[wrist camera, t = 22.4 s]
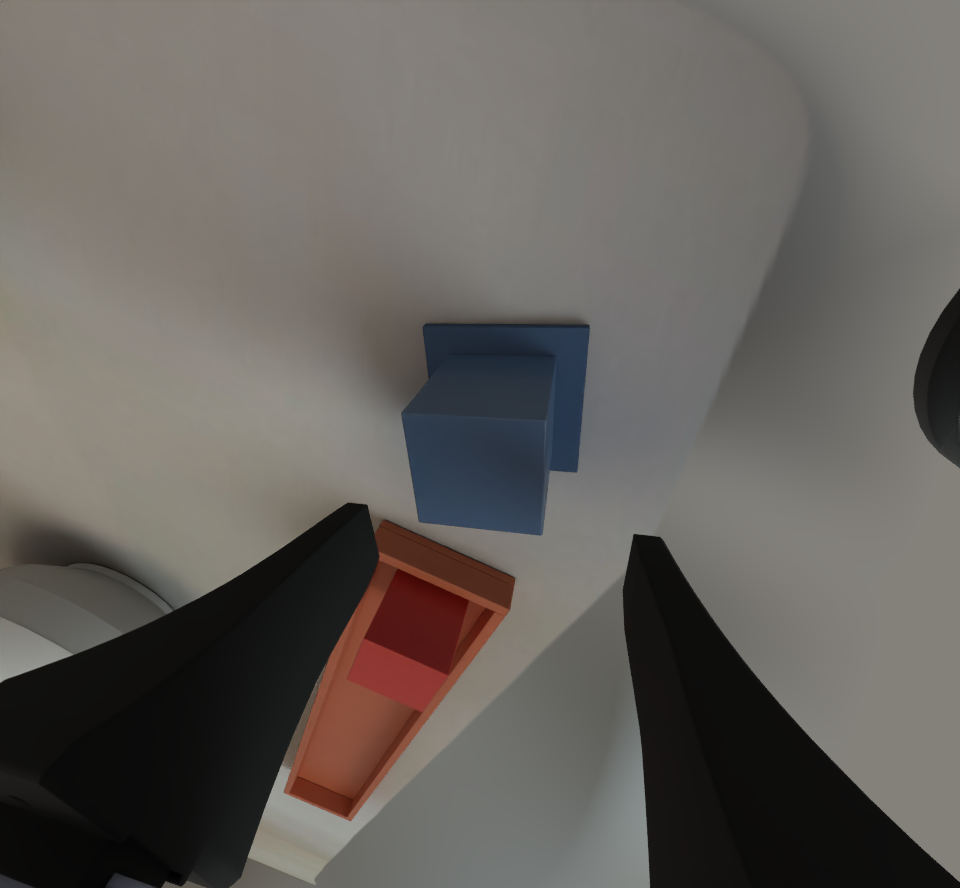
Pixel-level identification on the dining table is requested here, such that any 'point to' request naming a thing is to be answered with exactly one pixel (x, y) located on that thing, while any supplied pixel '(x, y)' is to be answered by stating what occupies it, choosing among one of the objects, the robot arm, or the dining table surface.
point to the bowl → (66, 612)
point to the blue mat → (527, 341)
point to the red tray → (369, 715)
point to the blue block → (483, 442)
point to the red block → (410, 641)
